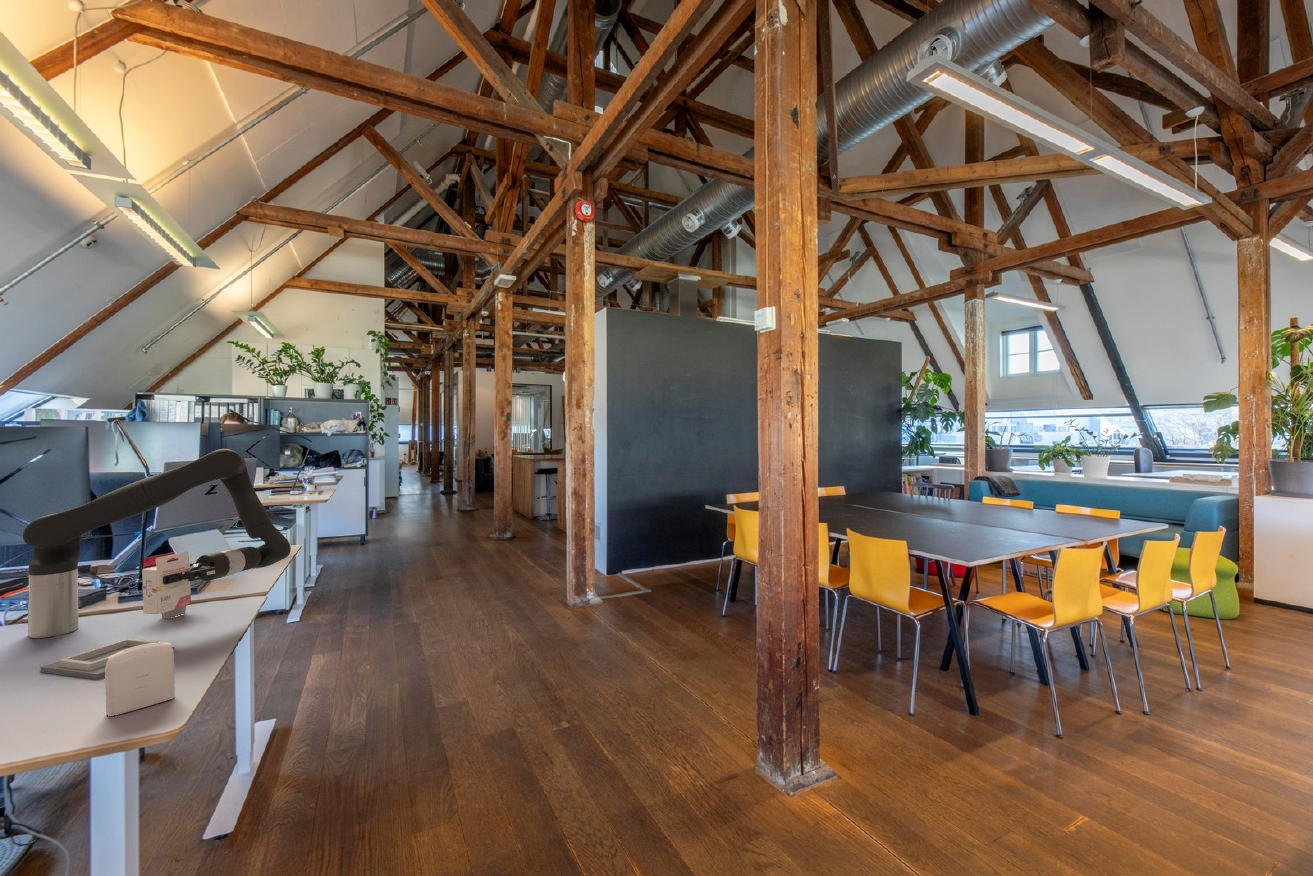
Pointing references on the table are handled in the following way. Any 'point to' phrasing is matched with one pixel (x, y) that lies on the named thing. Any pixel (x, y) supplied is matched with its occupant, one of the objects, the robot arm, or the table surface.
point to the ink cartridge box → (165, 585)
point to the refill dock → (91, 660)
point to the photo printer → (139, 677)
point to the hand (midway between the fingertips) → (155, 579)
